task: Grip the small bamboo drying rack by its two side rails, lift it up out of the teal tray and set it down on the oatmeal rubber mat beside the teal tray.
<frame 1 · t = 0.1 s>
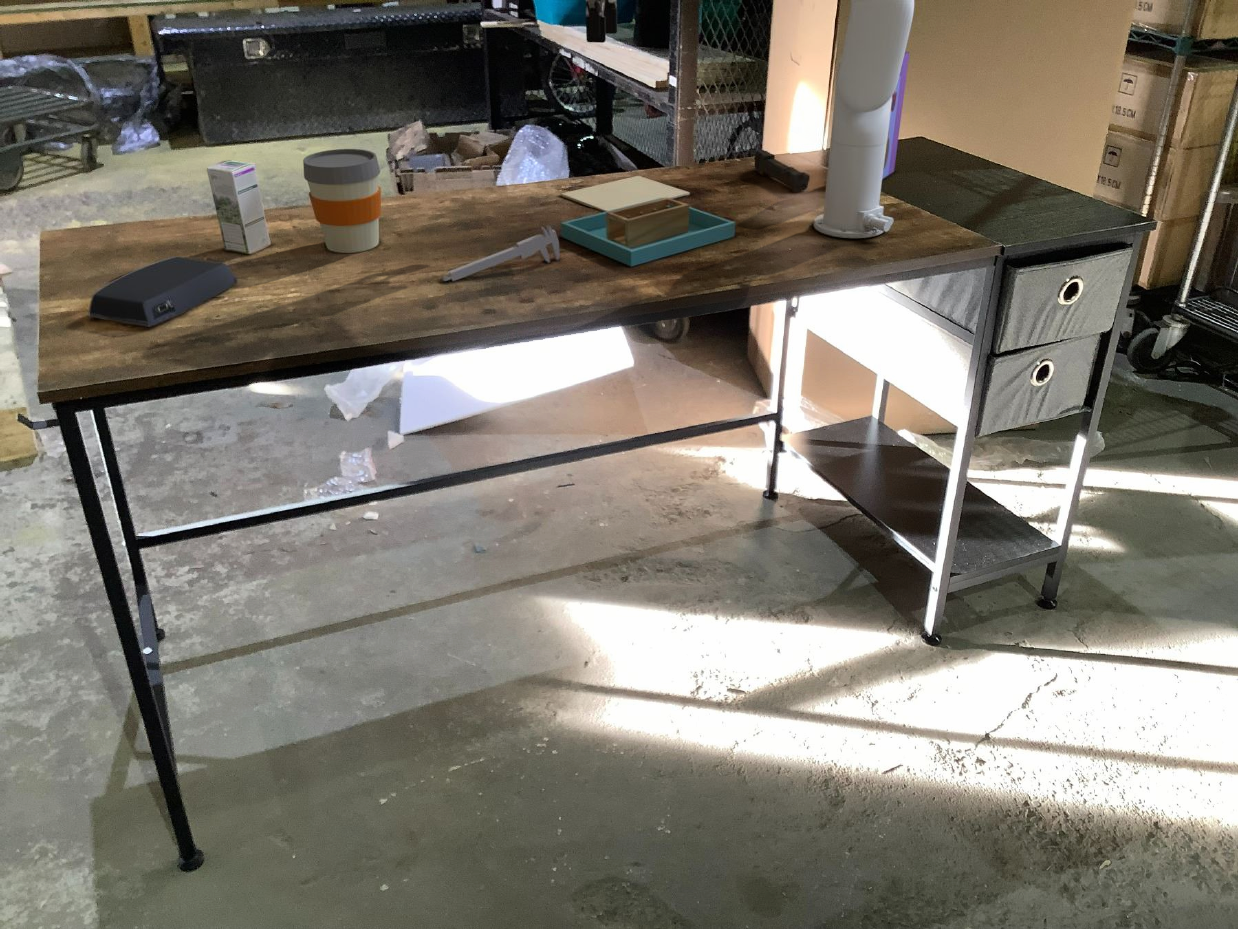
hand: (602, 37, 175), 31 cm above the table, tool pointing down, fingers open, 9 cm apart
caliper: (502, 271, 167), on the table
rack: (647, 236, 180), resting on teal tray
teal tray: (647, 237, 180), on the table
hard drive: (167, 302, 157), on the table
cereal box: (867, 181, 210), on the table
hand tool: (774, 181, 210), on the table
reusable coffee cup: (352, 245, 179), on the table
mat: (625, 195, 202), on the table
syrup box: (248, 249, 178), on the table
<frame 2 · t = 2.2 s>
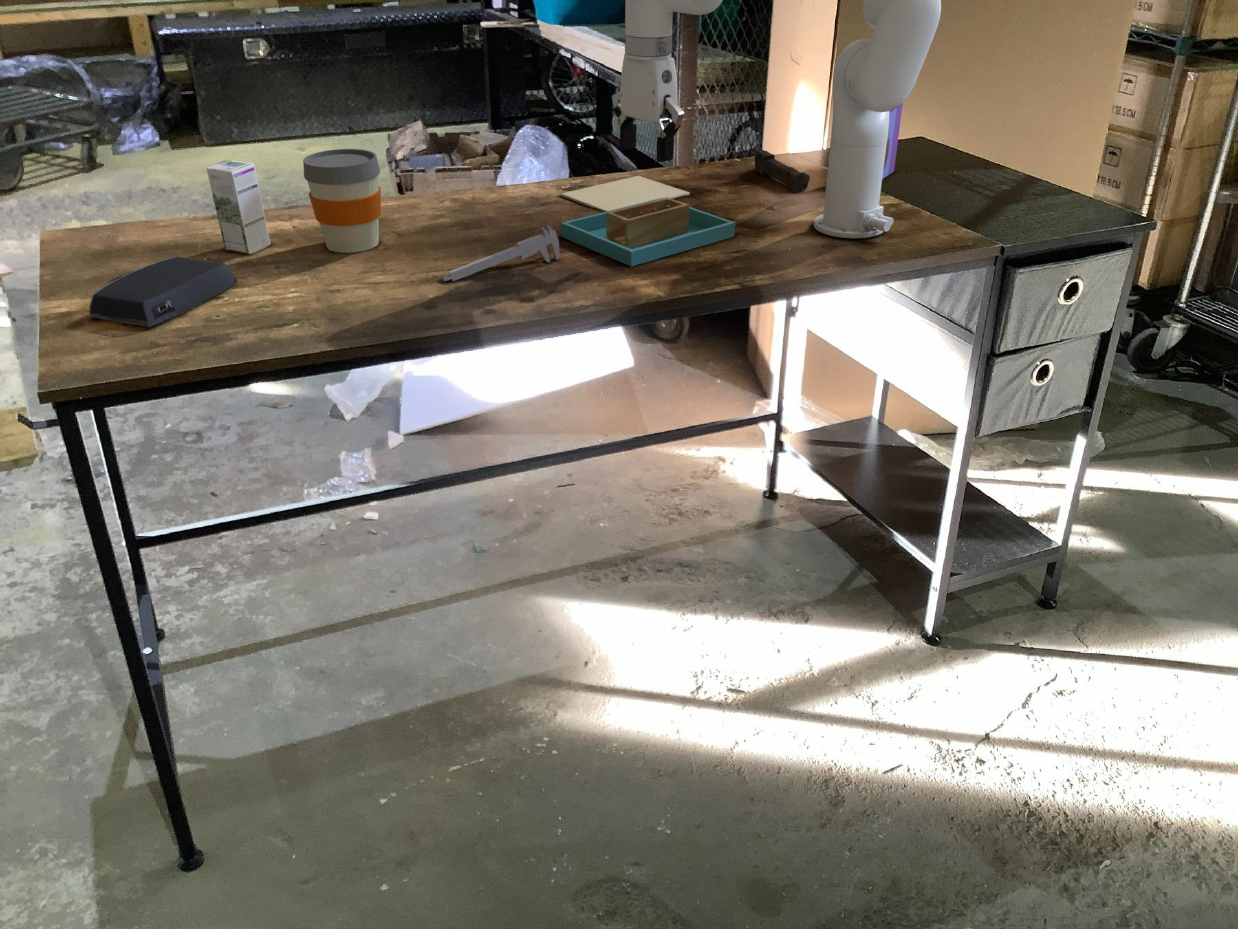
hand: (646, 154, 173), 15 cm above the table, tool pointing down, fingers open, 9 cm apart
nothing on the table moved.
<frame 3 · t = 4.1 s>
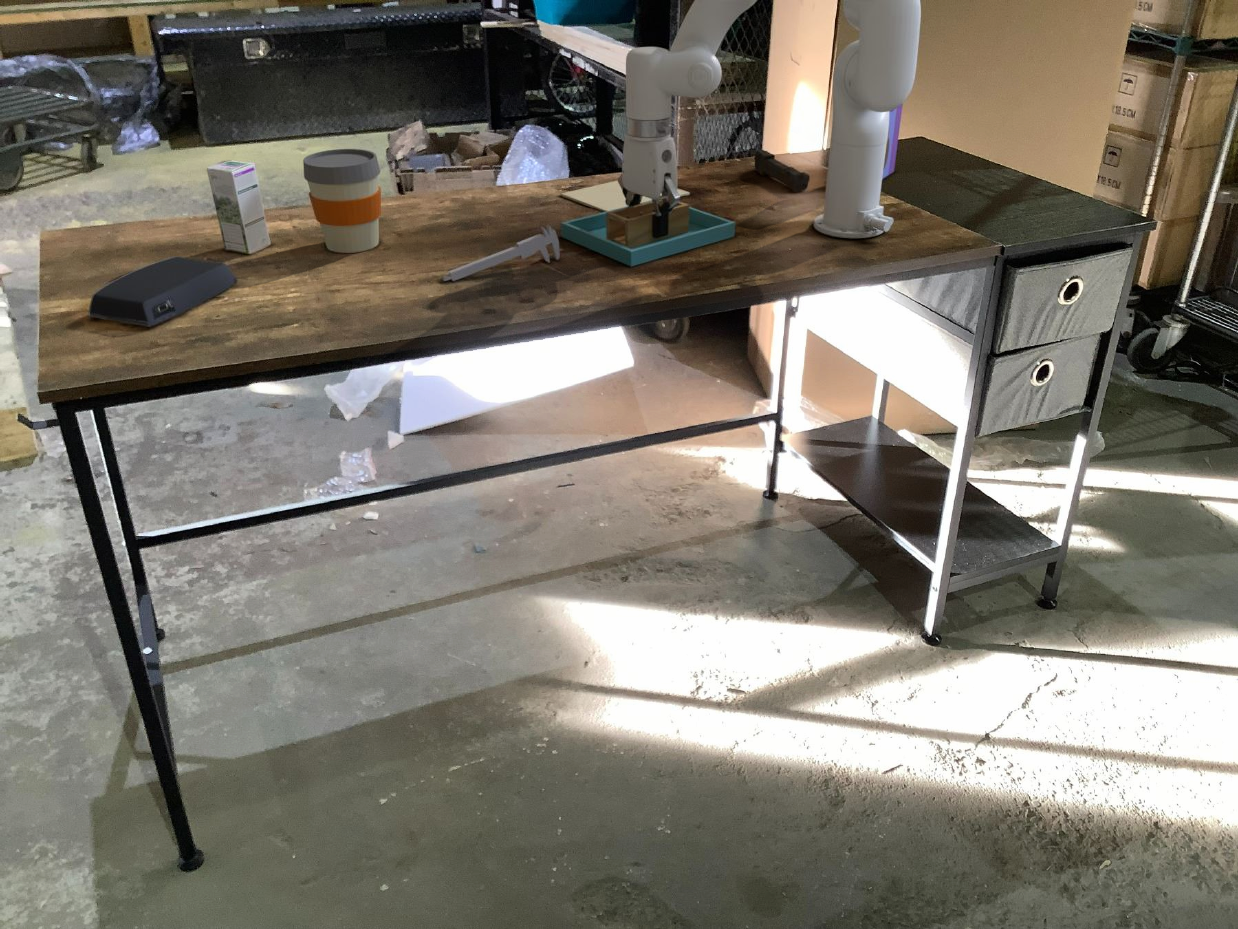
hand: (647, 230, 180), 1 cm above the table, tool pointing down, fingers closed on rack, 6 cm apart
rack: (647, 236, 180), resting on teal tray, touching gripper
everything else where it was.
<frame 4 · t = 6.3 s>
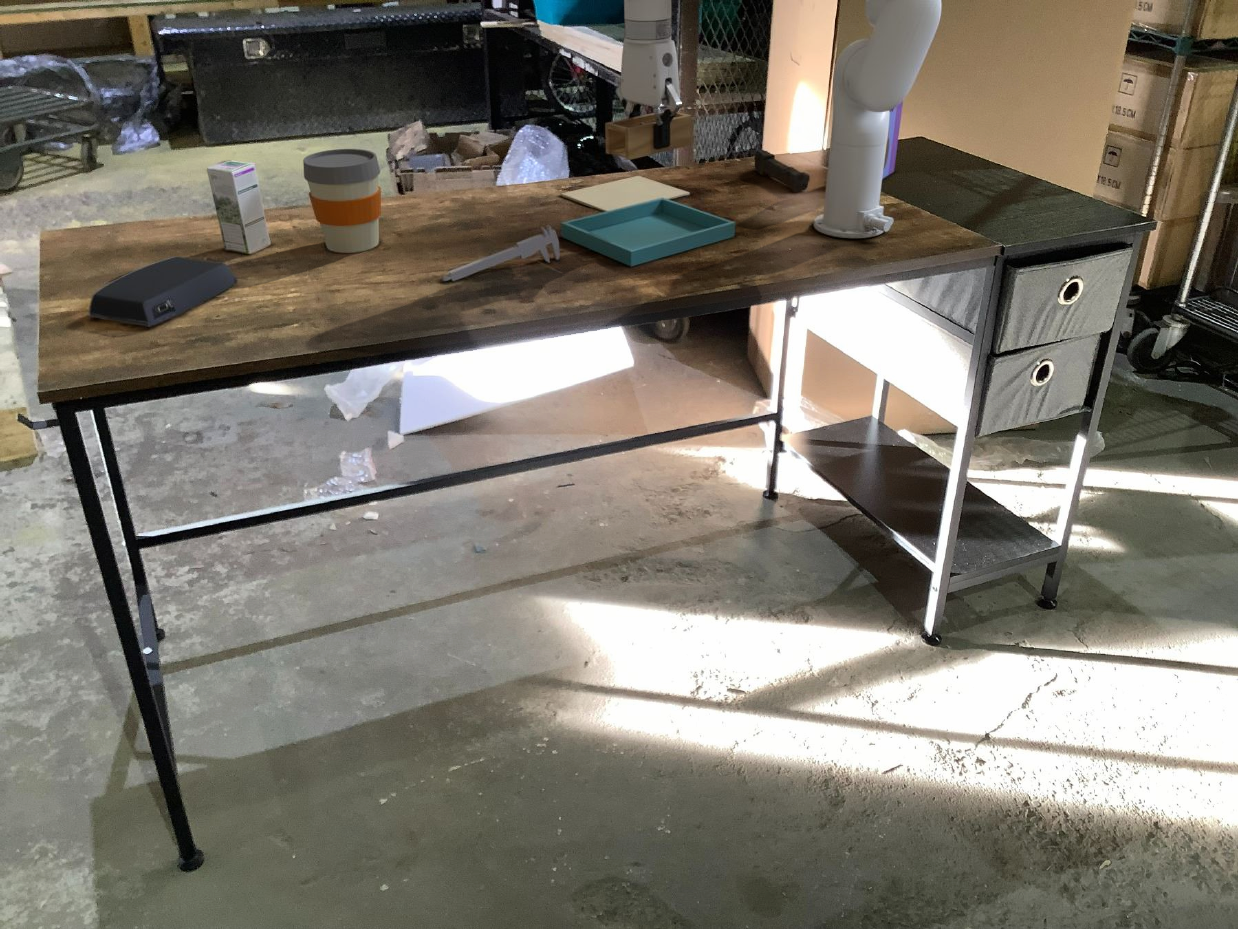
hand: (648, 143, 173), 16 cm above the table, tool pointing down, fingers closed on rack, 6 cm apart
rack: (648, 149, 174), point 15 cm above the table, touching gripper
everything else where it was.
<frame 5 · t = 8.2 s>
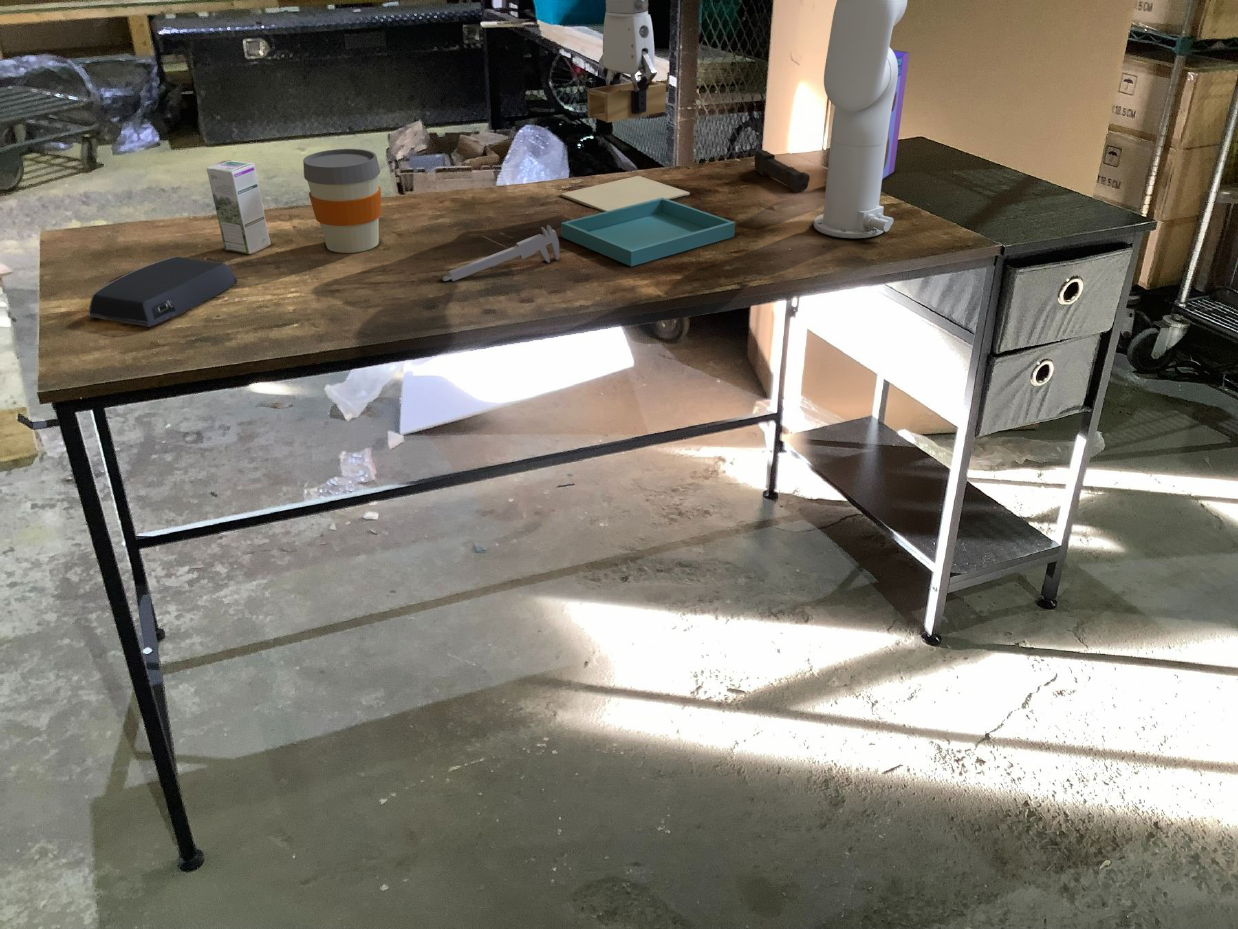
hand: (627, 108, 191), 17 cm above the table, tool pointing down, fingers closed on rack, 6 cm apart
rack: (627, 114, 191), point 16 cm above the table, touching gripper
everything else where it was.
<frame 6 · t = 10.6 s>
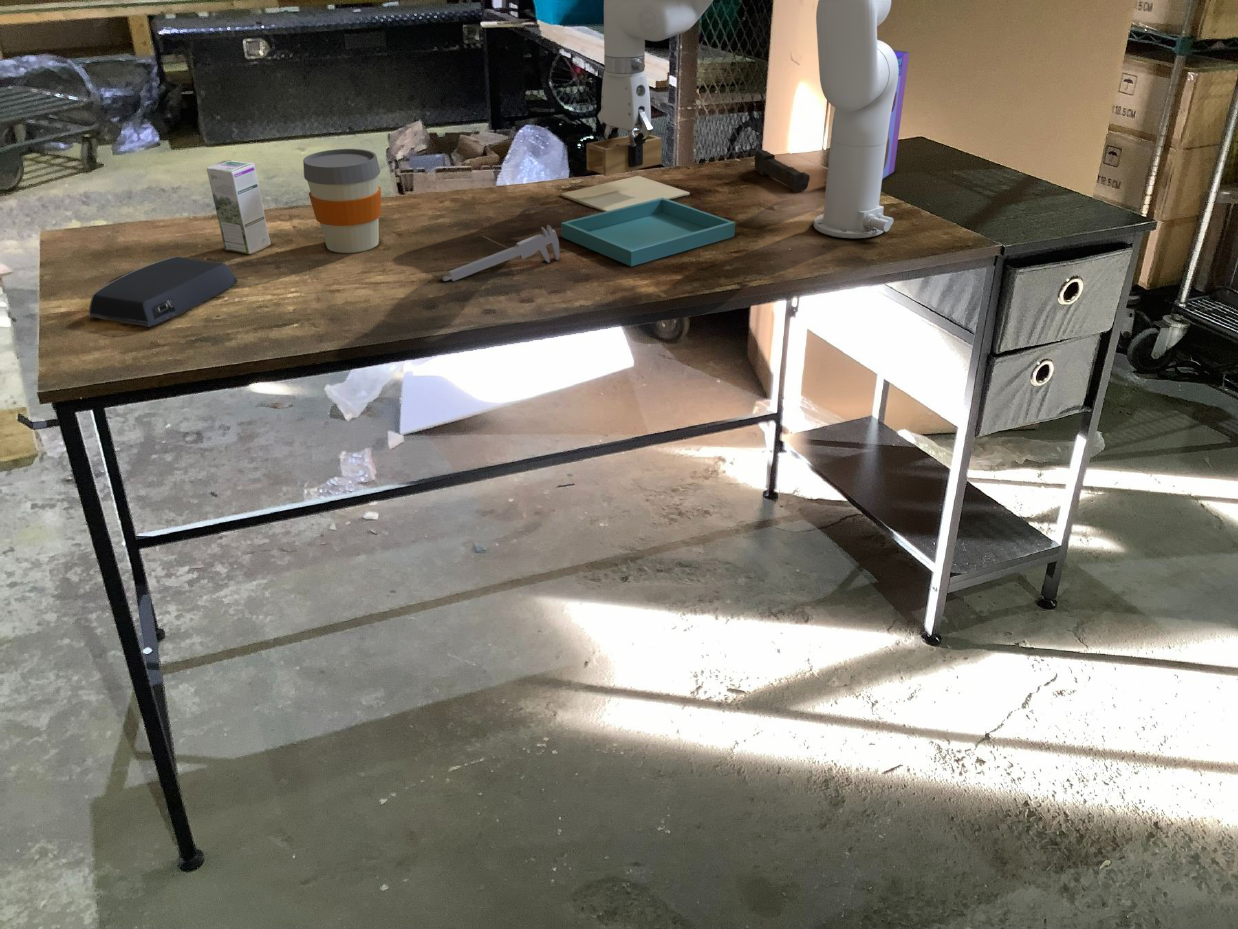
hand: (624, 161, 199), 7 cm above the table, tool pointing down, fingers closed on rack, 6 cm apart
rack: (624, 166, 200), point 6 cm above the table, touching gripper
everything else where it was.
when the fingers open (1 cm above the table, at t = 12.4 s): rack stays where it is, resting on mat.
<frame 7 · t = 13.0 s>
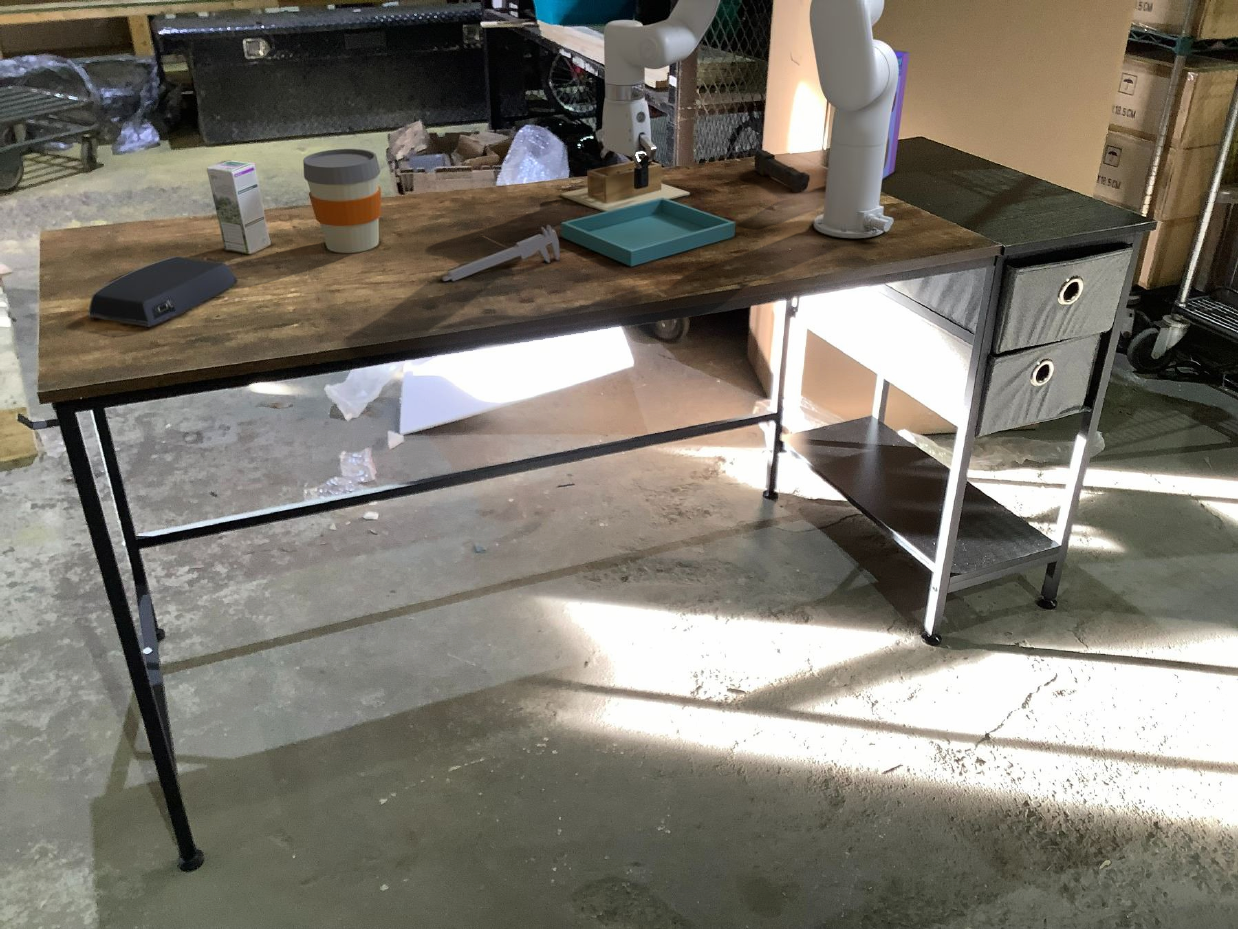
hand: (625, 182, 201), 3 cm above the table, tool pointing down, fingers open, 9 cm apart
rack: (624, 192, 202), resting on mat
everything else where it was.
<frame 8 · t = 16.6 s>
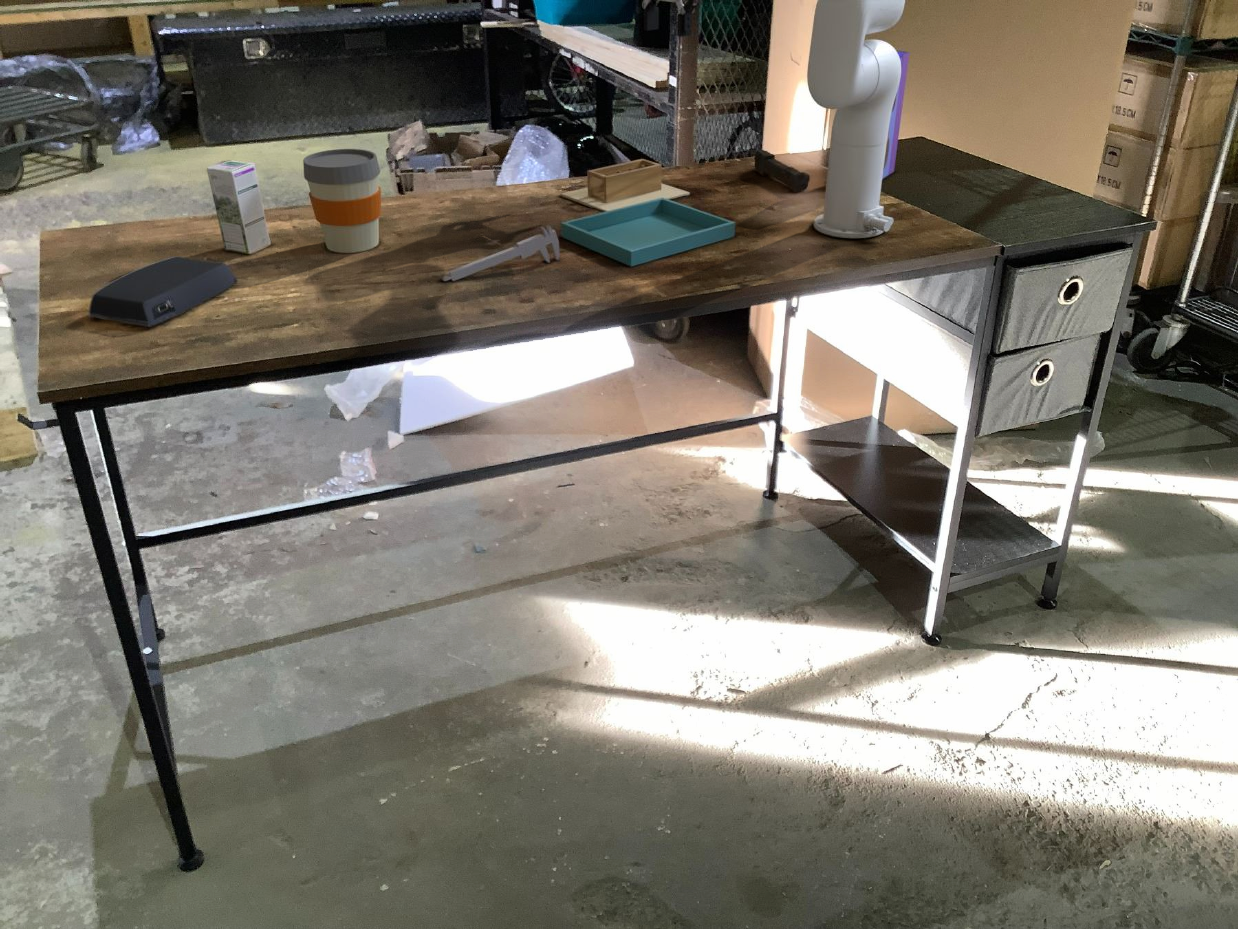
hand: (667, 32, 198), 28 cm above the table, tool pointing down, fingers open, 9 cm apart
nothing on the table moved.
at the end: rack inside the target area on the mat (0.1 cm from its centre), point 0.5 cm above the mat's base; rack touching mat; the gripper is holding nothing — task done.
